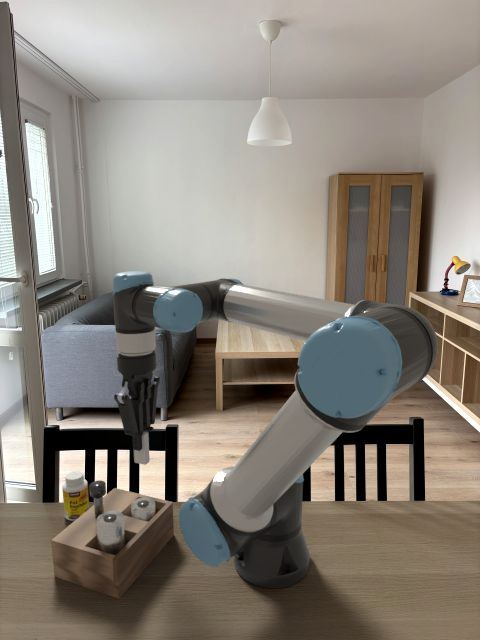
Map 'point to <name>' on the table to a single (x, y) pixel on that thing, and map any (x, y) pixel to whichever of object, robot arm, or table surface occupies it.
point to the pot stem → (98, 496)
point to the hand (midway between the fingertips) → (142, 461)
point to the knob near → (111, 532)
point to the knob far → (143, 509)
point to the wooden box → (103, 568)
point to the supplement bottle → (75, 495)
